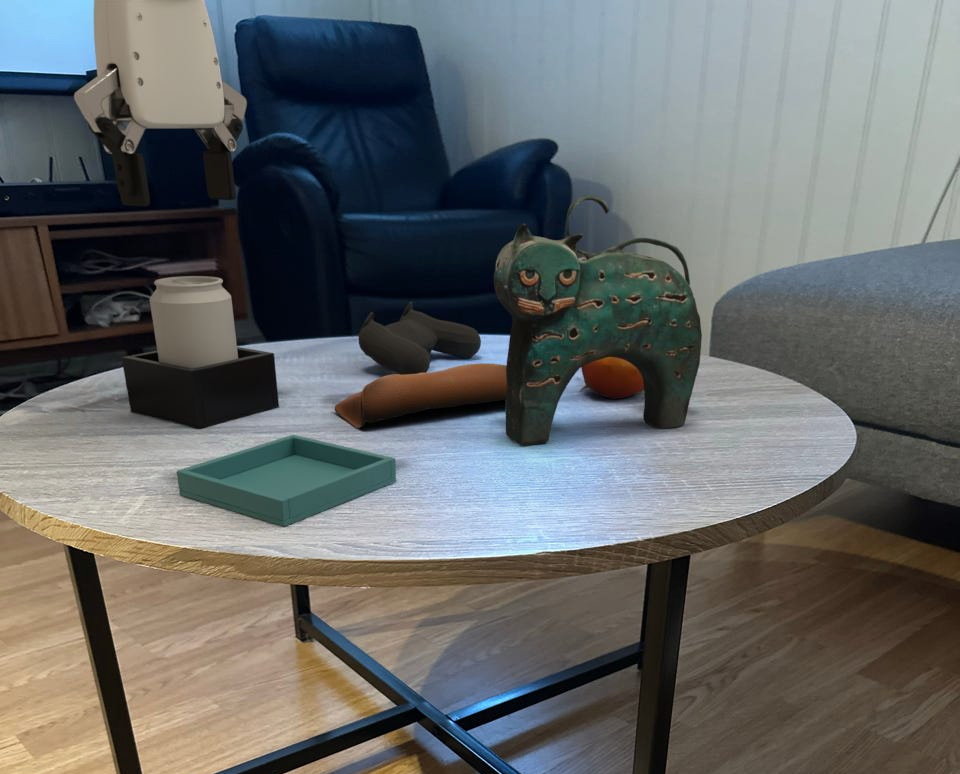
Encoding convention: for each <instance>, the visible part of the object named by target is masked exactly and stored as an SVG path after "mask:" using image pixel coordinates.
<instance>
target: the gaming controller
mask: <svg viewBox="0 0 960 774" xmlns="http://www.w3.org/2000/svg"><path fill="white" fill-rule="evenodd" d="M374 319H375V313H374V312H373V311H370V313H369V314H368V315H367V317H366V319H364V322H363V324H362V326H361V327H360V329H359V331H358V345H359V348H360V350H361V351H362V352H363V353H364V355H365V356H367V357H368V358H369V357H370V359H372V361H373V362H375V363H376V364H378V365H379V366H381V367H383V368H385V369H387V370H388V371H391V372H394V373H395V374H399V375H407V374H418V373H424V372H425V373H428V372H429V368H430V364H431V357H430V355H431V353H432V351H433V352H435V353H440V354H446V355H449V356H453V357H457V358H463V359H470V358H472V357H474V356H475V355H476V354H477V353H478V352H479V351H480V349H481V345H482V340H481V336H480V334H479V332H478V331H477V330H476V329H475V328H474V327H472V326H468V325H465V324H462V323H457V322H453V321H448V320H442V319H439V318H438V319H437V318H434V317H432V316H430V315H427V314H426V313H423V312H421V311H417V310H414V302H413V301H409V302H408V303H407V305H406V307H405V308H404V310H403V312H402V314H401V316H400V318H399V320H398V321H396V322H393V323H389V324H387V325H385V326H384V325H383V324H381V323H378V322H377V321H375V320H374Z"/></svg>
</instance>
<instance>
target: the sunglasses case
mask: <svg viewBox="0 0 960 774" xmlns="http://www.w3.org/2000/svg"><path fill="white" fill-rule="evenodd" d="M506 365H507V364H501V363H500V364H497V363H484V362H483V363H481V362H480V363H469V364H462V365H458V366H453V367H449V368H445V369H441V370H437V371H431V372H430V371H429V372H426V373H425V372H424V373H418V374H407V375H400V374H398V373H394V374H393V373H392V374H391V373H390V374H386V375H385V376H382V377H381V376H380V377H379V378H376V379H375V380H373V381H371V382H370V383H367V384H366V385H364V386H363V389H362V391H359V392H356V393H354V394H352V395H350V396H348V397H347V398H345V399H343V400H342V401H340V402H338V403H337V404H335V405H334V411H335V412H336V413H337V414H338V416H339V417H340V418H342V419H343V420H344V421H345V422H346V423H348V424H349V425H351V426H352V427H354V428H355V429H357V430H359V429H360V428H362V427H364V425H365V423H366V422H367V423H375V422H379V421H384V420H389V419H393V418H396V417H403V416H406V415H407V414H415V413H418V412H419V413H420V412H422V411H425V410H429V409H431V410H435V409H446V408H455V407H459V406H463V405H469V404H470V405H475V404H476V405H477V404H478V405H479V404H484V403H485V404H486V403H490V402H496V401H506V386H507V380H506Z"/></svg>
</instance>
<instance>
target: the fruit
mask: <svg viewBox="0 0 960 774" xmlns="http://www.w3.org/2000/svg"><path fill="white" fill-rule="evenodd" d="M580 369H581V375H582V377H583V381H584V384H585V385H584V386H583V387H581V388H580V390H579V392H582V391H583V390H586V389H590V390H591V391H592V392H593V393H595V394H597V395H598V396H599V395H600V396H602V397H605V398H609V399H611V400H619V399H623V398H624V399H625V398H628V397H631V396H633V395H636V394H639V393H641V392H644V384H643V378H642V375H641V374H640V372H639V370H638V369H637V368H636V367H635V366H634V365H632V364H631V363H630V362H628V361H626V360H623V359H620V358H616V357H607V358H603V359H599V360H597V361H594V362H591V363H588V364H586V365H584V366H582V367H581V368H580Z"/></svg>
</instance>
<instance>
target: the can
mask: <svg viewBox="0 0 960 774" xmlns="http://www.w3.org/2000/svg"><path fill="white" fill-rule="evenodd" d="M223 282H224V279H222V278H220V277H216V276H207V275H206V276H204V275H203V276H202V275H187V276H186V275H185V276H183V275H182V276H171V277H164V278H159V279H155V281H154V282H153V284H154V285H155V286H156V289H154V292H153V293H152V294H151V296H150V297H149V304H150V311H151V312H150V313H151V318H152V324H153V331H154V337H155V344H156V351H158V358H159V362H161V363H166V364H171V365H176V366H182V367H187V368H192V369H194V368H198V367H203V366H207V365H212V364H216V363H221V362H226V361H230V360H235V359H238V352H237V347H238V344H237V336H236V326H235V319H234V317H235V316H234V310H233V309H234V308H233V300H232V295H231V294H230V292H228V290H226V289H225V288H224V287H223V285H222V284H223Z"/></svg>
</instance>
